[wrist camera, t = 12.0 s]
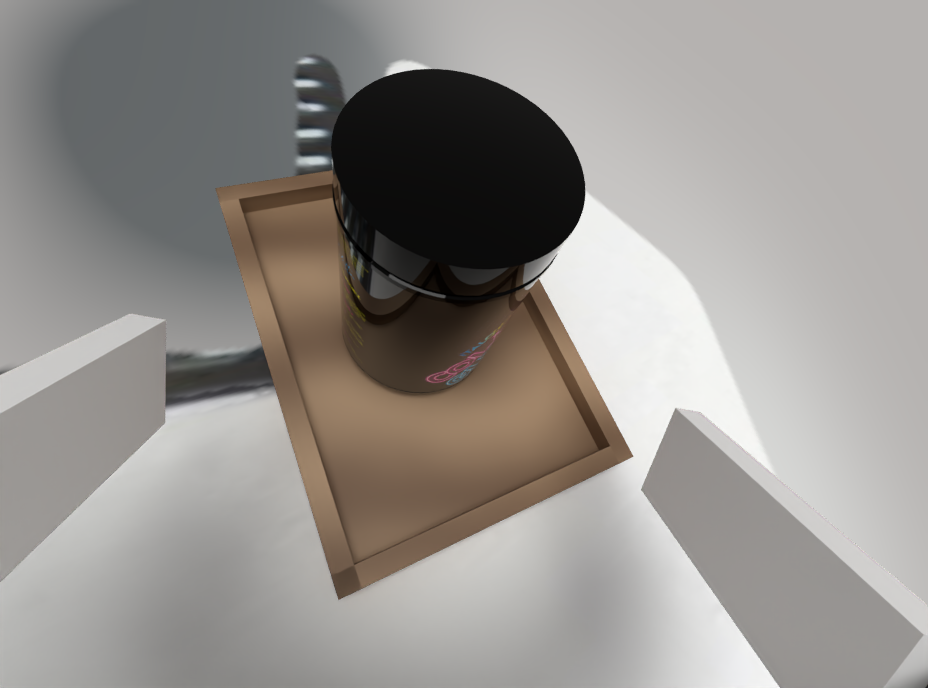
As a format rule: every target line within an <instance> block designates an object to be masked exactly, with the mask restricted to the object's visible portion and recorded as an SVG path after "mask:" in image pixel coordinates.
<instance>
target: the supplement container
mask: <svg viewBox="0 0 928 688" xmlns="http://www.w3.org/2000/svg"><path fill="white" fill-rule="evenodd" d="M331 151H332V170H333V185H332V192H333V205H334V210H335V215H336V225H337V245H338V265H339V285H340V306H341V325H342V334H343V339H344V342H345V345H346V347H347V350H348V352H349V354H350V355H351V357H352V359H353V360H354V362H355V363H356V364H357V365H358V367H359V368H360V369H361V370H362V371H363V372H364V373H365V374H367V375H368V376H369V377H370V378H372V379H373V380H375V381H376V382H378V383H380V384H381V385H384V386H386V387H388V388H390V389H393V390H396V391H400V392H404V393H411V394H428V393H435V392H439V391H443V390H446V389H448V388H451V387H453V386H455V385H457V384H458V383H460V382H462V381H463V380H464V379H466V378H467V377H468V376H469V375H470V374H471V373H472V372H473V371H474V370H475V369H476V367H477V366H478V365H479V363H480V362H481V360H482V359H483V358H484V356H485V355H486V353H487V352H488V350H489V349H490V347H491V346H492V345H493V343H494V342H495V340H496V339H497V337H498V336H499V335H500V333H501V332H502V330H503V329H504V327H505V326H506V324H507V323H508V322H509V320H510V319H511V317H512V316H513V314H514V313H515V312H516V310H517V309H518V307H519V306H520V304H521V303H522V301H523V300H524V299H525V297H526V296H527V294H528V293H529V291H530V290H531V288H532V287H533V286H534V284H535V283H536V281H537V280H538V279H539V278H540V277H541V276H542V275H543V274H544V273H545V272H546V270H547V269H548V268H549V266H550V265H551V264H552V262H553V260H554V259H555V257H556V255H557V253H558V252H559V250H560V249H561V247H562V246H563V245H564V243H565V242H566V240H567V239H568V237H569V236H570V235H571V233H572V232H573V230H574V228H575V227H576V225H577V223H578V221H579V219H580V216H581V214H582V211H583V207H584V201H585V181H584V175H583V171H582V167H581V164H580V161H579V159H578V156H577V154H576V152H575V150H574V148H573V146H572V145H571V143H570V141H569V140H568V138H567V137H566V136H565V134H564V133H563V131H562V130H561V129H560V128H559V127H558V125H557V124H556V123H555V122H554V121H553V120H552V119H551V118H550V117H549V116H548V115H547V114H546V113H545V112H543V111H542V110H541V109H540V108H539V107H537V106H536V105H535V104H534V103H532V102H530V101H529V100H528V99H527V98H525V97H523V96H522V95H520V94H518V93H517V92H515V91H513V90H511V89H509V88H507V87H505V86H503V85H501V84H499V83H496V82H494V81H491V80H488V79H486V78H482V77H479V76H476V75H472V74H468V73H464V72H457V71H451V70H441V69H421V70H411V71H404V72H400V73H396V74H392V75H389V76H386V77H383V78H381V79H379V80H377V81H374V82H373V83H371V84H369V85H368V86H366V87H364V88H363V89H362V90H360V91H359V92H358V93H356V94H355V95H354V96H353V97H352V98H351V99H350V100H349V101H348V103H347V104H346V105H345V106H344V108H343V109H342V111H341V113H340V115H339V116H338V119H337V121H336V124H335V126H334V130H333V135H332V144H331Z"/></svg>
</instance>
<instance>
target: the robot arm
mask: <svg viewBox="0 0 928 688" xmlns="http://www.w3.org/2000/svg"><path fill="white" fill-rule="evenodd" d="M165 380H166V320H163V319H158V318H152V317H146V316H140V315H135V314H128V315H126V316H124V317H122V318H120V319H118V320H116V321H114V322H111V323H109V324H107V325H105V326H103V327H101V328H99V329H97V330H94V331H92V332H90V333H88V334H86V335H84V336H82V337H80V338H78V339H76V340H73V341H71V342H69V343H67V344H65V345H63V346H61V347H59V348H56V349H54V350H52V351H50V352H48V353H46V354H44V355H42V356H40V357H37V358H35V359H33V360H31V361H29V362H27V363H25V364H23V365H21V366H18V367H16V368H14V369H12V370H10V371H8V372H6V373H4V374H1V375H0V582H1V581H2V580H3V579H4V578H5V577H6V576H7V575H8V574H9V573H10V572H11V571H12V570H13V569H14V568H15V567H16V566H17V565H18V564H19V563H20V562H21V561H23V560H24V559H25V558H26V557H27V556H28V555H29V554H30V553H31V552H32V551H33V550H34V549H35V548H36V547H37V546H38V545H39V544H40V543H41V542H42V541H43V540H44V539H45V538H46V537H47V536H48V535H49V534H50V533H52V532H53V531H54V530H55V529H56V528H57V527H58V526H59V525H60V524H61V523H62V522H63V521H64V520H65V519H66V518H67V517H68V516H69V515H70V514H71V513H72V512H73V511H74V510H75V509H76V508H77V507H78V506H80V505H81V504H82V503H83V502H84V501H85V500H86V499H87V498H88V497H89V496H90V495H91V494H92V493H93V492H94V491H95V490H96V489H97V488H98V487H99V486H100V485H101V484H102V483H103V482H104V481H105V480H106V479H108V478H109V477H110V476H111V475H112V474H113V473H114V472H115V471H116V470H117V469H118V468H119V467H120V466H121V465H122V464H123V463H124V462H125V461H126V460H127V459H128V458H129V457H130V456H131V455H132V454H133V453H134V452H136V451H137V450H138V449H139V448H140V447H141V446H142V445H143V444H144V443H145V442H146V441H147V440H148V439H149V438H150V437H151V436H152V435H153V434H154V433H155V432H156V431H157V430H158V429H159V428H160V427H161V426H162V425H163V424H165ZM641 490H642V491H643V493H644V494H645V496H646V497H647V499H648V500H649V501H650V503H651V504H652V506H653V507H654V509H655V510H656V511H657V513H658V514H659V516H660V517H661V519H662V520H663V521H664V523H665V524H666V526H667V527H668V528H669V530H670V531H671V533H672V534H673V536H674V537H675V538H676V540H677V541H678V543H679V544H680V546H681V547H682V548H683V550H684V551H685V553H686V554H687V556H688V557H689V558H690V560H691V561H692V563H693V564H694V566H695V567H696V568H697V570H698V571H699V573H700V574H701V576H702V577H703V578H704V580H705V581H706V583H707V584H708V586H709V587H710V588H711V590H712V591H713V593H714V594H715V596H716V597H717V598H718V600H719V601H720V603H721V604H722V606H723V607H724V608H725V610H726V611H727V613H728V614H729V616H730V617H731V618H732V620H733V621H734V623H735V624H736V626H737V627H738V628H739V630H740V631H741V633H742V634H743V636H744V637H745V638H746V640H747V641H748V643H749V644H750V645H751V647H752V648H753V650H754V651H755V653H756V654H757V655H758V657H759V658H760V660H761V661H762V663H763V664H764V665H765V667H766V668H767V670H768V671H769V673H770V674H771V675H772V677H773V678H774V680H775V681H776V683H777V684H778V685H779V687H780V688H928V605H927V604H926V603H924V602H923V601H922V600H921V599H920V598H918V597H917V596H916V595H915V594H914V593H913V592H912V591H910V590H909V589H908V588H907V587H905V586H904V585H903V584H902V583H901V582H900V581H898V580H897V579H896V578H895V577H894V576H893V575H891V574H890V573H889V572H888V571H887V570H886V569H884V568H883V567H882V566H881V565H880V564H878V563H877V562H876V561H875V560H874V559H873V558H871V557H870V556H869V555H868V554H867V553H865V552H864V551H863V550H862V549H861V548H860V547H858V546H857V545H856V544H855V543H854V542H852V541H851V540H850V539H849V538H848V537H846V536H845V535H844V534H843V533H842V532H841V531H839V530H838V529H837V528H836V527H835V526H834V525H833V524H831V523H830V522H829V521H828V520H827V519H825V518H824V517H823V516H822V515H821V514H820V513H818V512H817V511H816V510H815V509H814V508H812V507H811V506H810V505H809V504H808V503H806V502H805V501H804V500H803V499H802V498H801V497H800V496H798V495H797V494H796V493H795V492H794V491H792V490H791V489H790V488H789V487H788V486H786V485H785V484H784V483H783V482H782V481H781V480H779V479H778V478H777V477H776V476H775V475H774V474H772V473H771V472H770V471H769V470H768V469H766V468H765V467H764V466H763V465H762V464H761V463H759V462H758V461H757V460H756V459H755V458H754V457H752V456H751V455H750V454H749V453H748V452H746V451H745V450H744V449H743V448H742V447H741V446H739V445H738V444H737V443H736V442H735V441H733V440H732V439H731V438H730V437H729V436H728V435H726V434H725V433H724V432H723V431H722V430H720V429H719V428H718V427H717V426H716V425H715V424H713V423H712V422H711V421H710V420H709V419H708V418H706V417H705V416H704V415H703V414H702V413H700V412H696V411H690V410H684V409H678V408H675V411H674V413H673V415H672V418H671V420H670V422H669V425H668V427H667V429H666V432H665V434H664V437H663V439H662V441H661V444H660V446H659V448H658V451H657V453H656V456H655V458H654V460H653V463H652V465H651V467H650V470H649V472H648V474H647V477H646V479H645V482H644V484H643V486H642V489H641Z"/></svg>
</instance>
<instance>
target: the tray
mask: <svg viewBox="0 0 928 688" xmlns="http://www.w3.org/2000/svg"><path fill="white" fill-rule="evenodd" d="M332 185H333V170H332V171H326V172H319V173H313V174H306V175H299V176H293V177H286V178H280V179H273V180H267V181H260V182H254V183H247V184H240V185H233V186H227V187H220V188H216V192H217V195H218V198H219V202H220V205H221V209H222V212H223V215H224V219H225V222H226V225H227V229H228V232H229V235H230V239H231V242H232V246H233V249H234V252H235V255H236V259H237V262H238V266H239V269H240V272H241V276H242V279H243V282H244V286H245V289H246V292H247V296H248V299H249V302H250V306H251V309H252V312H253V316H254V319H255V322H256V325H257V329H258V332H259V336H260V339H261V342H262V346H263V349H264V352H265V356H266V359H267V362H268V366H269V369H270V372H271V376H272V379H273V383H274V386H275V389H276V393H277V396H278V399H279V403H280V406H281V409H282V413H283V416H284V419H285V423H286V426H287V429H288V433H289V436H290V439H291V443H292V446H293V449H294V453H295V456H296V459H297V463H298V466H299V469H300V473H301V476H302V479H303V483H304V486H305V489H306V493H307V496H308V499H309V503H310V506H311V509H312V513H313V516H314V519H315V523H316V526H317V530H318V533H319V536H320V540H321V543H322V546H323V550H324V553H325V556H326V560H327V563H328V566H329V570H330V573H331V576H332V580H333V583H334V586H335V590H336V593H337V596H338V600H339V599H341V598H343V597H345V596H348V595H350V594H352V593H354V592H356V591H358V590H360V589H362V588H364V587H366V586H368V585H370V584H372V583H374V582H376V581H378V580H380V579H382V578H385V577H387V576H389V575H391V574H393V573H395V572H397V571H399V570H401V569H403V568H405V567H407V566H409V565H411V564H413V563H415V562H417V561H420V560H422V559H424V558H426V557H428V556H430V555H432V554H434V553H436V552H438V551H440V550H442V549H444V548H446V547H448V546H450V545H452V544H454V543H457V542H459V541H461V540H463V539H465V538H467V537H469V536H471V535H473V534H475V533H477V532H479V531H481V530H483V529H485V528H487V527H489V526H492V525H494V524H496V523H498V522H500V521H502V520H504V519H506V518H508V517H510V516H512V515H514V514H516V513H518V512H520V511H522V510H524V509H526V508H529V507H531V506H533V505H535V504H537V503H539V502H541V501H543V500H545V499H547V498H549V497H551V496H553V495H555V494H557V493H559V492H561V491H564V490H566V489H568V488H570V487H572V486H574V485H576V484H578V483H580V482H582V481H584V480H586V479H588V478H590V477H592V476H594V475H596V474H598V473H601V472H603V471H605V470H607V469H609V468H611V467H613V466H615V465H617V464H619V463H621V462H623V461H625V460H627V459H629V458H631V457H633V455H632V453H631V451H630V449H629V447H628V445H627V444H626V442H625V440H624V438H623V436H622V434H621V432H620V430H619V429H618V427H617V425H616V423H615V421H614V419H613V417H612V415H611V414H610V412H609V410H608V408H607V406H606V404H605V402H604V400H603V399H602V397H601V395H600V393H599V391H598V389H597V387H596V385H595V384H594V382H593V380H592V378H591V376H590V374H589V372H588V370H587V369H586V367H585V365H584V363H583V361H582V359H581V357H580V355H579V354H578V352H577V350H576V348H575V346H574V344H573V342H572V340H571V339H570V337H569V335H568V333H567V331H566V329H565V327H564V325H563V323H562V322H561V320H560V318H559V316H558V314H557V312H556V310H555V308H554V307H553V305H552V303H551V301H550V299H549V297H548V295H547V293H546V292H545V290H544V288H543V286H542V284H541V282H540V280H539V279H538V280H537V281H536V283H535V284H534V286H533V287H532V288H531V290H530V291H529V293H528V294H527V296H526V297H525V299H524V300H523V301H522V303H521V304H520V306H519V307H518V309H517V310H516V312H515V313H514V314H513V316H512V317H511V319H510V320H509V322H508V323H507V324H506V326H505V327H504V329H503V330H502V332H501V333H500V335H499V336H498V337H497V339H496V340H495V342H494V343H493V345H492V346H491V347H490V349H489V350H488V352H487V353H486V355H485V356H484V358H483V359H482V360H481V362H480V363H479V365H478V366H477V367H476V369H475V370H474V371H473V372H472V373H471V374H470V375H469V376H468V377H467V378H466V379H464V380H463V381H462V382H460V383H458V384H457V385H455V386H453V387H451V388H448V389H446V390H443V391H439V392H435V393H428V394H411V393H404V392H400V391H396V390H393V389H390V388H388V387H386V386H384V385H381V384H380V383H378V382H376V381H375V380H373V379H372V378H370V377H369V376H368V375H367V374H365V373H364V372H363V371H362V370H361V369H360V368H359V367H358V365H357V364H356V363H355V362H354V360H353V359H352V357H351V355H350V354H349V352H348V350H347V347H346V345H345V342H344V339H343V334H342V325H341V306H340V285H339V265H338V245H337V225H336V215H335V210H334V205H333V192H332Z"/></svg>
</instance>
